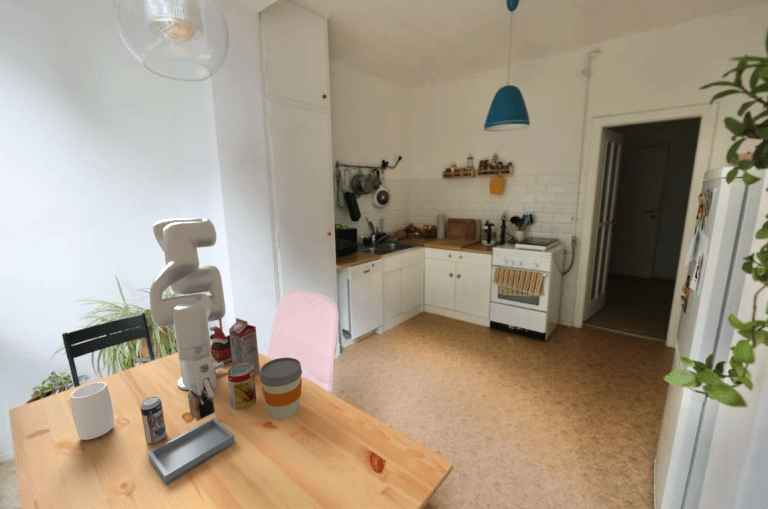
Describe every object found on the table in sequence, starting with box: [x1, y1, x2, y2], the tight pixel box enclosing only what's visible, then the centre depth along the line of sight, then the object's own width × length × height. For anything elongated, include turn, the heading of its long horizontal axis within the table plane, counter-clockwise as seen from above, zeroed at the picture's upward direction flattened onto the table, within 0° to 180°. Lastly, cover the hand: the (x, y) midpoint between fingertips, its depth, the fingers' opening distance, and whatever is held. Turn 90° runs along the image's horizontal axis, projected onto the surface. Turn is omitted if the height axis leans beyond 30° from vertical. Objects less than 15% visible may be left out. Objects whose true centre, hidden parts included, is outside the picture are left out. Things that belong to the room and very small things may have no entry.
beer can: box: [140, 396, 167, 444], centre depth 93 cm, size 5×5×12 cm
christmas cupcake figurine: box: [209, 319, 232, 364], centre depth 137 cm, size 11×9×18 cm
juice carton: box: [228, 317, 261, 376], centre depth 126 cm, size 7×7×22 cm
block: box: [187, 389, 216, 422], centre depth 89 cm, size 4×4×6 cm
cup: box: [69, 381, 115, 441], centre depth 95 cm, size 8×8×14 cm
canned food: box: [226, 363, 257, 411], centre depth 109 cm, size 8×8×12 cm
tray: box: [147, 417, 236, 486], centre depth 89 cm, size 17×12×2 cm
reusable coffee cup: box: [259, 357, 303, 420], centre depth 105 cm, size 12×13×15 cm
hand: (202, 410), depth 90 cm, fingers closed on block, 4 cm apart
